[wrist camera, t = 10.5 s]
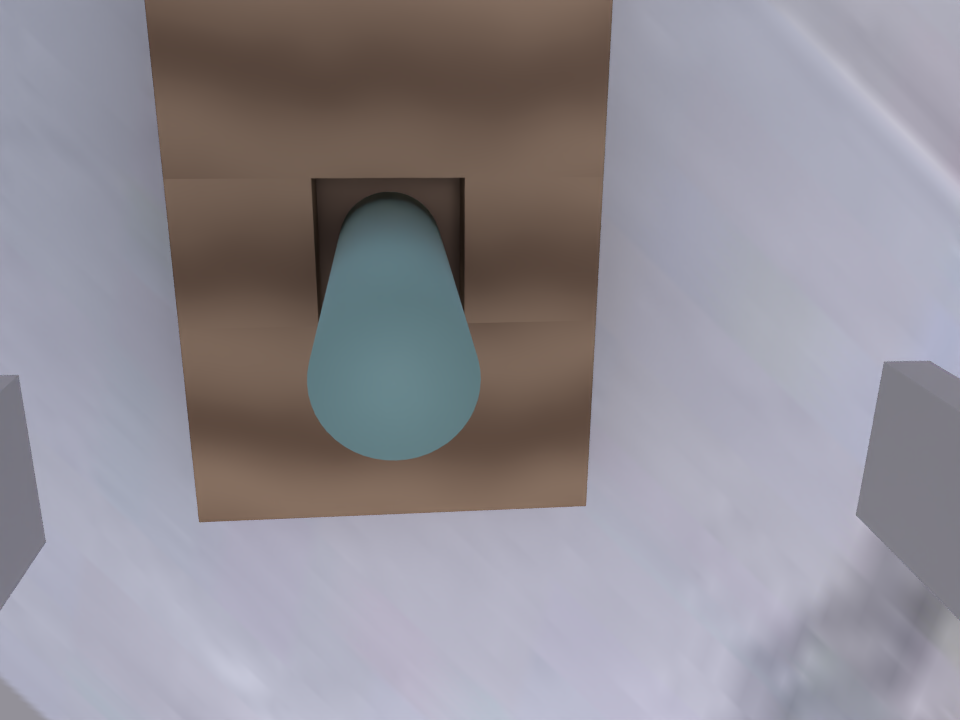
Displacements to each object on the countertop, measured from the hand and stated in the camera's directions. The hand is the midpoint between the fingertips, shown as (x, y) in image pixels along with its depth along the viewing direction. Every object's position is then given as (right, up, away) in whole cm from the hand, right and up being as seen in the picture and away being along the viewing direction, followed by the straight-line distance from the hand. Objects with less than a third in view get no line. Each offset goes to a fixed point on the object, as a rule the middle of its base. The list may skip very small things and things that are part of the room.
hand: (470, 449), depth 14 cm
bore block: (-4, +6, +23) cm, 24 cm away
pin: (-3, +6, +22) cm, 23 cm away
